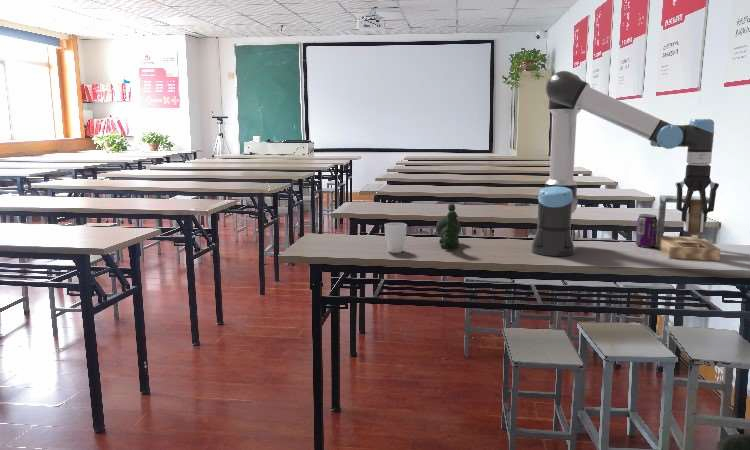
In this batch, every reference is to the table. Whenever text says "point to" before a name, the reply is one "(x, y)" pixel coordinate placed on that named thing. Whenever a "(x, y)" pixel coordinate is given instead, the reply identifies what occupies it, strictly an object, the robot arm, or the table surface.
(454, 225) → the toy figurine
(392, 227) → the cup
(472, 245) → the table surface
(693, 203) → the peg
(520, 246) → the table surface
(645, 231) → the beverage can
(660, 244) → the socket station
